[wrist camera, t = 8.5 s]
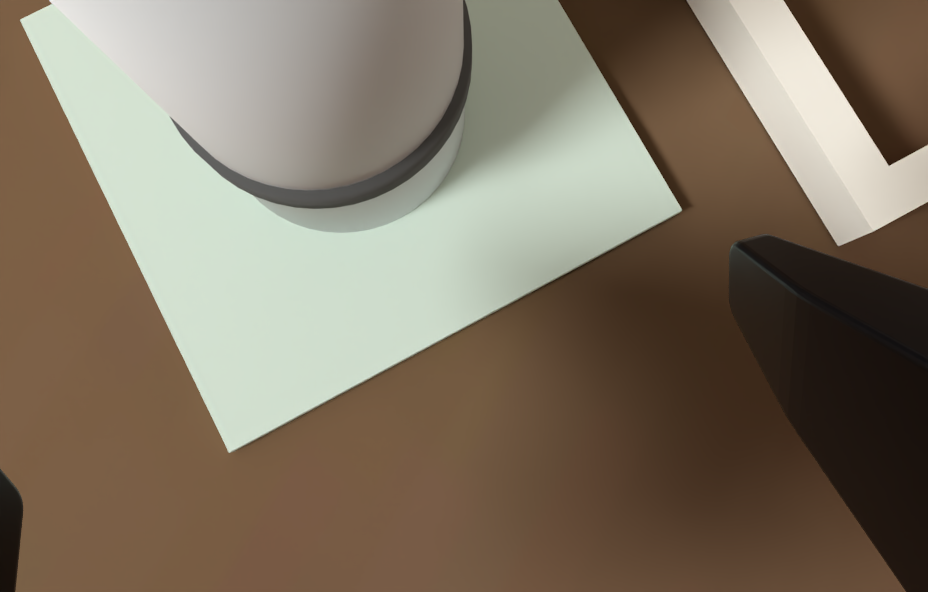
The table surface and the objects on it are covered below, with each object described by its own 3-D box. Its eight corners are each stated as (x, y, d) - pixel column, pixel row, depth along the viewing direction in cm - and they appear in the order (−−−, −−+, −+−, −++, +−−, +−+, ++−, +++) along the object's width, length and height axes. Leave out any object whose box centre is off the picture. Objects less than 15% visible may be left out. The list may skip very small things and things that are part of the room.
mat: (678, 213, 17) (682, 210, 17) (233, 452, 16) (228, 453, 16) (446, -181, 18) (445, -191, 18) (27, 26, 18) (20, 19, 17)
